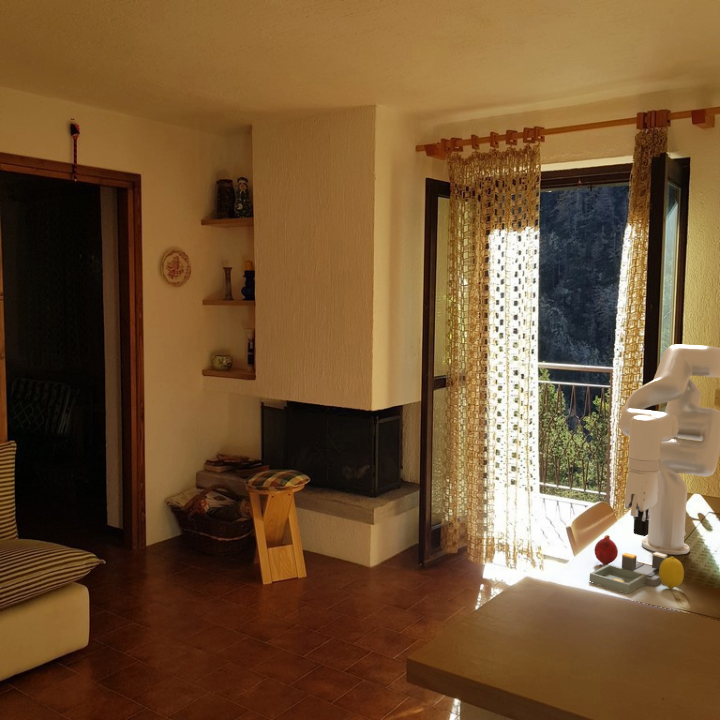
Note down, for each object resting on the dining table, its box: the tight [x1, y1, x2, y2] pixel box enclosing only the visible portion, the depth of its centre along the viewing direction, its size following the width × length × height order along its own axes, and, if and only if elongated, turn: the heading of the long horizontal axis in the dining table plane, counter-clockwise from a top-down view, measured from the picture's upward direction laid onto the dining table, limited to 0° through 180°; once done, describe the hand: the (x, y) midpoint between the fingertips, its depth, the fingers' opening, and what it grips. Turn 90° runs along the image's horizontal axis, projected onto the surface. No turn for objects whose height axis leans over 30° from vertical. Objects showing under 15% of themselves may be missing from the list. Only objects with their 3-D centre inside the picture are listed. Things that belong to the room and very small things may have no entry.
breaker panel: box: [634, 560, 662, 587], centre depth 188 cm, size 11×9×2 cm
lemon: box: [659, 555, 685, 590], centre depth 180 cm, size 6×6×8 cm
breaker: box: [651, 552, 668, 569], centre depth 188 cm, size 2×3×4 cm
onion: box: [594, 534, 619, 566], centre depth 195 cm, size 6×6×8 cm
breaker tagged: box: [621, 552, 638, 571], centre depth 187 cm, size 2×3×4 cm
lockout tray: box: [588, 563, 646, 595], centre depth 183 cm, size 10×10×2 cm
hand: (640, 534), depth 191 cm, fingers closed
